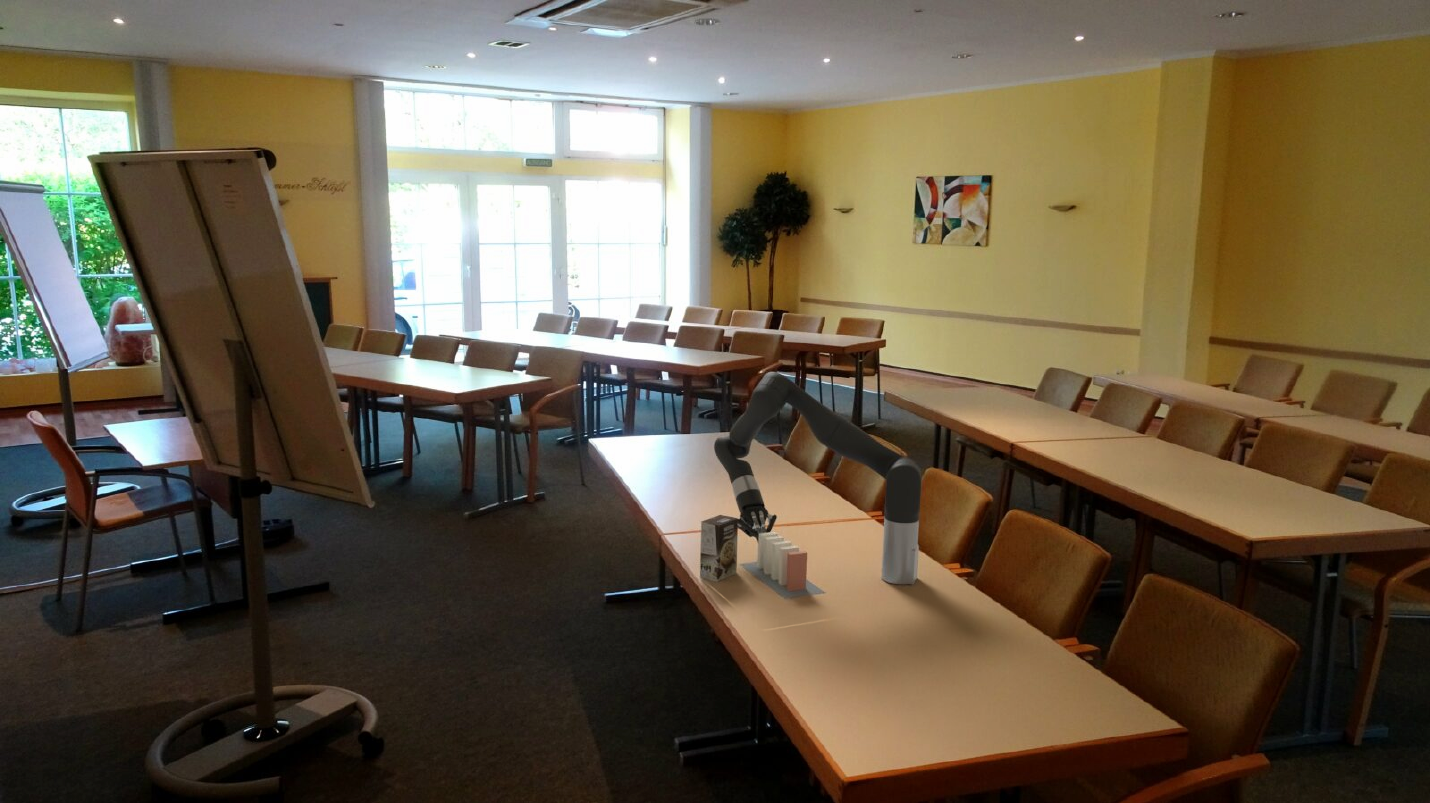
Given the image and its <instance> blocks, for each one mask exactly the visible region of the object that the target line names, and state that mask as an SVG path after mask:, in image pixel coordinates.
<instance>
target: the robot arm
mask: <svg viewBox="0 0 1430 803" xmlns="http://www.w3.org/2000/svg"><path fill="white" fill-rule="evenodd" d="M786 404H788V405H790V406H791V407H793V409H795V410H796V411H797V412H799V413H800V415H801V416H802V417H803V418H804V420H805V421H806V423H807V425H808V427H809V428H810V430H811V431H810V432H812V435H813V436H814V437H815V438H816V440H817V441H818V442H820V444H822V446H825V447H826V448H827V449H830V450H831V451H833V452H834V453H836V454H837V455H839V456H841V457H844V458H846V459H847V460H851V461H853V462H856V463H859V464H862V465H864V466H865V467H868V468H869V469H870V470H872V471H874V472H875V473H877V474H878V475H879V476H881V478H884V479H885V495H884V496H885V497H884V498H885V499H884V501H885V502H884V516H883V517H884V520H883V521H884V523H883V541H882V542H883V543H882V557H881V559H882V560H881V579H882V580H883V581H885V582H886V583H890V584H893V585H914V584H915V582H916V580H917V579H918V570H919V569H918V567H919V550H920V544H918V542H919V524H920V512H921V511H920V509H921V498H922V497H921V496H922V471H921V469H920V467H919V465H918V464H917V463H916V462H915V461H914V460H912V459H910V458H908V457H907V456H904V455H902V454H900V453H898V452H896V451H894V450H892V449H891V448H889V447H887V446H885V445H884V444H882V443H881V442H879V441H878V440H877V439H875V438H874V437H872V436H871V435H870V434H868V433H867V432H865V431H864V430H863V429H861V428H860V427H858V426H857V425H856V424H854V423H852V422H851V421H850V420H848V419H847V418H845V417H843V416H842V415H840V414H838V413H836V412H835V411H833V410H832V409H830V408H829V407H827V406H826V405H824V404H823V403H822V402H820V401H818V400H817V399H815V398H814V397H813V396H811V395H810V394H809V393H808V392H806V391H805V390H804V389H802V387H800V386H799V385H797V384H796V383H795V382H794V381H792V380H791V379H789V378H788V377H787V376H785V375H784V374H781V373H780V372H776V371H769V372H767V373H765V374H764V376H763V377H762V378H761V379H760V381H759V382H758V384H757V385H756V386H755V388H754V390H753V391H752V394H751V397H750V400H749V402H748V405H747V408H746V410H745V412H743V414H741V415H740V416H739V418H738V419H737V420H736V421H735V422H734V424H733V426H732V427H731V428H730V431H729V432H728V433H729V435H722V436H719V437H717V438H716V439H715V441H714V445H713V449H714V453H715V456H716V457H717V460H718V461H719V462H720V464H721V465H722V467H723V468H724V469H725V471H726V472H727V474H728V477H729V480H730V483H731V487H732V492H733V495H734V499H735V502H736V505H737V508H738V512H739V513H740V515H739V518H738V529H739V530H740V531H742V532H743V533H744V534H745V535H746V536H748V537H749V538H752V537H754V538H755V539H756V542H757V543H758V539H759V534H760V533H768V532H772V530H773V528H774V525H775V522H776V521H777V518H778V516H777V515H776V514H770V513H769V511H768V509H766V506H765V502H764V498H763V496H762V492H761V489H760V487H759V484H758V482H757V480H756V478H755V474H754V472H753V469H752V466H751V464H750V462H749V461H747V460H743V459H744V458H746V457H747V456H748V455H749V454H750V450H751V446H752V445H751V444H752V442H753V441H754V439H755V437H757V435H758V433H760V430H761V428H762V427H763V425H765V424H766V423H767V422H768V421H769V420H771V419H772V418H774V417H775V416H777V414H778V413H780V412H781V411H782V410H783V408H784V407H785V405H786ZM766 521H767V522H768V524H767V525H766ZM766 526H767V527H766Z"/></svg>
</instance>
